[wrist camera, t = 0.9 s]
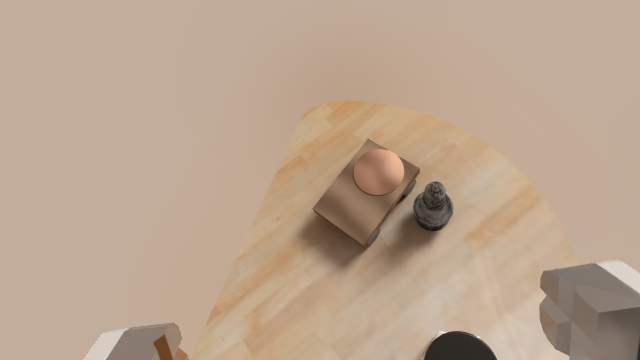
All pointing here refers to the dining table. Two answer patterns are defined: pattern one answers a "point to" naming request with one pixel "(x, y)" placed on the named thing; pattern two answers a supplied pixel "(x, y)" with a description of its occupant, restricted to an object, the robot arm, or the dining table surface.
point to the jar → (457, 347)
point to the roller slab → (367, 192)
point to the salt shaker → (433, 207)
